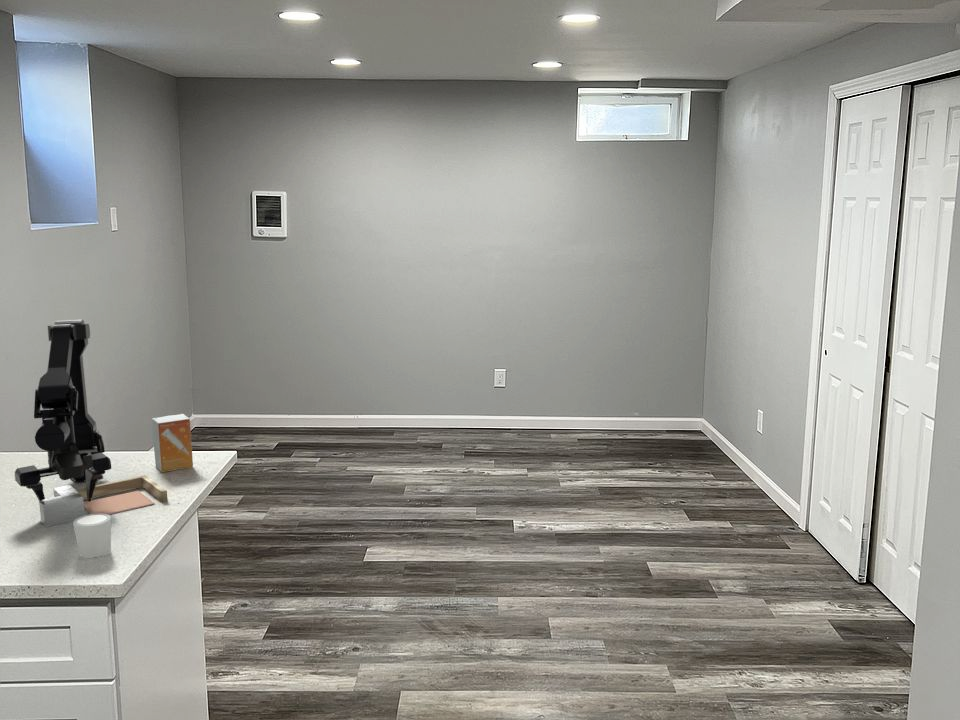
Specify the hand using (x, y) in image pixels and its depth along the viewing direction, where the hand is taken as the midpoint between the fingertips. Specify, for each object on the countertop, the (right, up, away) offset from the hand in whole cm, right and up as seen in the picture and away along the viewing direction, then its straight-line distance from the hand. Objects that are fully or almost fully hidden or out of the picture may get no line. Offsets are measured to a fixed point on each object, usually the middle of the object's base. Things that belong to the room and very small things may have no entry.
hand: (67, 505), depth 200 cm
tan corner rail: (+9, 0, +7) cm, 11 cm away
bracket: (-1, -2, -2) cm, 3 cm away
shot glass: (+16, -6, -22) cm, 28 cm away
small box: (+13, +5, +31) cm, 34 cm away
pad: (+9, 0, +5) cm, 10 cm away
